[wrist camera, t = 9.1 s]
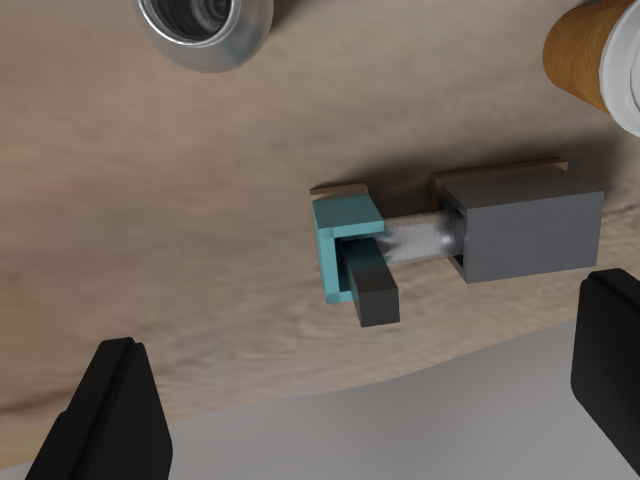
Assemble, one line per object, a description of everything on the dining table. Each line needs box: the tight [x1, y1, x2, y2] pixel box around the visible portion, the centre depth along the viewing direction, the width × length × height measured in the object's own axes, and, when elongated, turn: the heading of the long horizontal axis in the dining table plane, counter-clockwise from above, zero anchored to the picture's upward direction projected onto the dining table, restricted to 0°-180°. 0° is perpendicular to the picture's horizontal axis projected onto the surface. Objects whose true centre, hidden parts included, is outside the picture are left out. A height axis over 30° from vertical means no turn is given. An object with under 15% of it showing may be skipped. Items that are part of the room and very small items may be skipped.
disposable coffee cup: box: [543, 0, 640, 137], centre depth 36 cm, size 10×10×12 cm
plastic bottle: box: [131, 0, 274, 73], centre depth 28 cm, size 6×7×20 cm
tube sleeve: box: [430, 157, 605, 284], centre depth 42 cm, size 11×7×8 cm, turn 96°
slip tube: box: [337, 209, 464, 327], centre depth 37 cm, size 12×4×11 cm, turn 96°
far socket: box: [310, 183, 384, 304], centre depth 41 cm, size 5×7×8 cm, turn 6°
